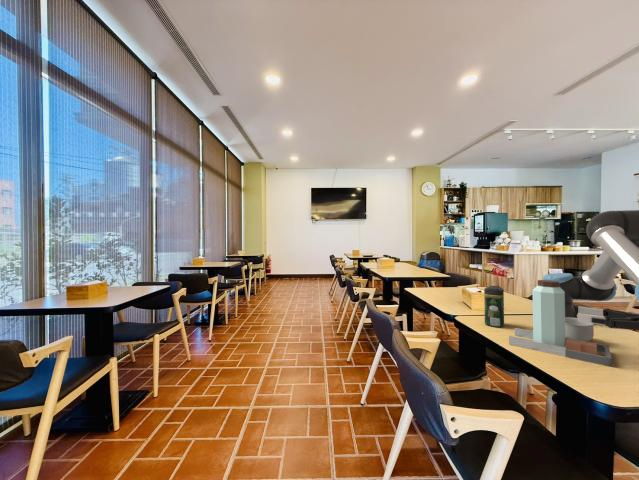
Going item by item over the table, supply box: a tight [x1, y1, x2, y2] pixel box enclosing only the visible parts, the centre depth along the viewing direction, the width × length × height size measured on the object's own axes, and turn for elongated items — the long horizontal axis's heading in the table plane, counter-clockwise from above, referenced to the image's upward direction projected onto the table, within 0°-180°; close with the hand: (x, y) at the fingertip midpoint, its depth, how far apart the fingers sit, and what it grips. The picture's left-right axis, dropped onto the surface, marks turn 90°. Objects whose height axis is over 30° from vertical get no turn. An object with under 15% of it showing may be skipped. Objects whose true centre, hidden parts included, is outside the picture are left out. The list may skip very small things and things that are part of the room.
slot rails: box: [508, 327, 567, 357], centre depth 107 cm, size 16×15×3 cm
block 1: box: [565, 339, 581, 352], centre depth 100 cm, size 4×4×4 cm
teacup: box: [565, 317, 595, 342], centre depth 113 cm, size 14×11×8 cm
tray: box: [564, 338, 613, 367], centre depth 98 cm, size 11×16×2 cm
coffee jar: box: [483, 285, 505, 328], centre depth 133 cm, size 10×8×19 cm
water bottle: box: [531, 279, 566, 347], centre depth 105 cm, size 10×10×25 cm
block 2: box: [581, 341, 598, 355], centre depth 98 cm, size 4×4×4 cm
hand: (577, 313), depth 99 cm, fingers open, 13 cm apart
